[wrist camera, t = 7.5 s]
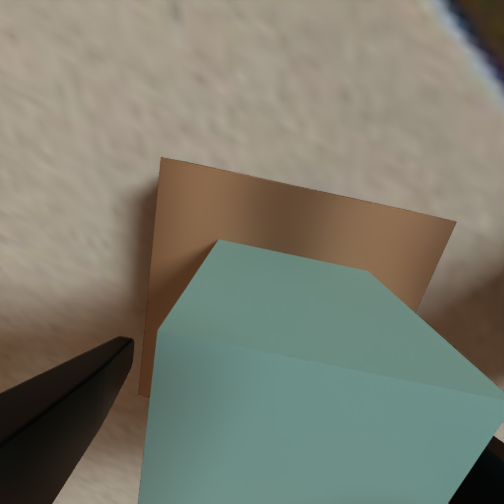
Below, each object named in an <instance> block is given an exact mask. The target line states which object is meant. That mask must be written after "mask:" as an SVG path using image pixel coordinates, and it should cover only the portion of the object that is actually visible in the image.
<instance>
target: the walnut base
mask: <svg viewBox="0 0 504 504" xmlns="http://www.w3.org/2000/svg"><path fill="white" fill-rule="evenodd" d="M455 225H456V221H452V220H447V219H443V218H439V217H435V216H430V215H426V214H422V213H418V212H413V211H409V210H404V209H400V208H395V207H391V206H386V205H381V204H377V203H372V202H368V201H363V200H358V199H354V198H349V197H345V196H340V195H336V194H331V193H326V192H322V191H317V190H313V189H308V188H304V187H299V186H294V185H290V184H285V183H281V182H276V181H271V180H267V179H262V178H258V177H253V176H249V175H244V174H239V173H235V172H230V171H226V170H221V169H216V168H212V167H207V166H203V165H198V164H194V163H189V162H184V161H179V160H173V159H168V158H163V157H161V161H160V172H159V182H158V193H157V203H156V214H155V225H154V235H153V246H152V256H151V267H150V278H149V288H148V299H147V309H146V320H145V330H144V341H143V352H142V362H141V373H140V383H139V394H138V395H141V396H146V397H150V393H151V384H152V375H153V367H154V358H155V349H156V340H157V332H158V329H159V328H160V326H161V325H162V323H163V322H164V320H165V319H166V317H167V316H168V314H169V313H170V311H171V310H172V308H173V307H174V305H175V304H176V302H177V301H178V299H179V298H180V296H181V295H182V293H183V292H184V290H185V289H186V287H187V286H188V284H189V283H190V281H191V280H192V278H193V277H194V275H195V274H196V272H197V271H198V269H199V268H200V266H201V265H202V263H203V262H204V260H205V259H206V257H207V256H208V255H209V253H210V252H211V250H212V249H213V247H214V246H215V244H216V243H217V241H218V240H219V239H220V240H224V241H229V242H234V243H239V244H243V245H248V246H253V247H257V248H262V249H267V250H271V251H276V252H281V253H286V254H290V255H295V256H300V257H304V258H309V259H314V260H318V261H323V262H328V263H333V264H337V265H342V266H347V267H351V268H356V269H361V270H365V271H369V272H370V273H371V274H372V275H373V276H374V277H375V278H376V279H378V280H379V281H380V282H381V283H382V284H383V285H384V286H385V287H387V288H388V289H389V290H390V291H391V292H392V293H393V294H394V295H396V296H397V297H398V298H399V299H400V300H401V301H402V302H403V303H405V304H406V305H407V306H408V307H409V308H410V309H411V310H412V311H414V312H416V310H417V308H418V306H419V304H420V302H421V299H422V297H423V295H424V293H425V291H426V288H427V286H428V284H429V282H430V280H431V277H432V275H433V273H434V271H435V269H436V266H437V264H438V262H439V260H440V258H441V255H442V253H443V251H444V249H445V247H446V244H447V242H448V240H449V238H450V236H451V233H452V231H453V229H454V227H455Z"/></svg>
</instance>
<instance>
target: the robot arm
mask: <svg viewBox="0 0 504 504" xmlns="http://www.w3.org/2000/svg"><path fill="white" fill-rule="evenodd" d="M133 352H134V340H133V339H132V338H128V337H123V336H119V337H116V338H114V339H112V340H110V341H108V342H106V343H104V344H102V345H100V346H98V347H96V348H93V349H91V350H89V351H87V352H85V353H83V354H81V355H79V356H77V357H75V358H73V359H71V360H69V361H66V362H64V363H62V364H60V365H58V366H56V367H54V368H52V369H50V370H48V371H46V372H44V373H42V374H39V375H37V376H35V377H33V378H31V379H29V380H27V381H25V382H23V383H21V384H19V385H17V386H15V387H12V388H10V389H8V390H6V391H4V392H2V393H0V504H52V503H53V502H54V500H55V498H56V497H57V495H58V494H59V492H60V491H61V489H62V487H63V486H64V484H65V483H66V481H67V479H68V478H69V476H70V475H71V473H72V472H73V470H74V468H75V467H76V465H77V464H78V462H79V461H80V459H81V457H82V456H83V454H84V453H85V451H86V449H87V448H88V446H89V445H90V443H91V442H92V440H93V438H94V437H95V435H96V434H97V432H98V430H99V429H100V427H101V425H102V424H103V422H104V420H105V418H106V416H107V414H108V412H109V410H110V408H111V406H112V404H113V403H114V401H115V399H116V397H117V395H118V393H119V391H120V389H121V387H122V385H123V383H124V381H125V379H126V377H127V375H128V373H129V371H130V369H131V366H132V363H133ZM448 504H504V443H503V442H502V441H500V440H499V439H497V438H496V437H495V436H493V437H492V438H491V440H490V441H489V443H488V444H487V446H486V447H485V449H484V450H483V452H482V453H481V455H480V456H479V458H478V459H477V461H476V462H475V464H474V465H473V467H472V468H471V470H470V471H469V472H468V474H467V475H466V477H465V478H464V480H463V481H462V483H461V484H460V486H459V487H458V489H457V490H456V492H455V493H454V495H453V496H452V498H451V499H450V501H449V502H448Z"/></svg>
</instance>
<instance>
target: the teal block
mask: <svg viewBox="0 0 504 504" xmlns="http://www.w3.org/2000/svg"><path fill="white" fill-rule="evenodd" d="M503 421H504V392H503V391H502V390H501V389H500V388H499V387H498V386H497V385H495V384H494V383H493V382H492V381H491V380H490V379H489V378H488V377H486V376H485V375H484V374H483V373H482V372H481V371H480V370H479V369H477V368H476V367H475V366H474V365H473V364H472V363H471V362H470V361H468V360H467V359H466V358H465V357H464V356H463V355H462V354H461V353H460V352H458V351H457V350H456V349H455V348H454V347H453V346H452V345H451V344H449V343H448V342H447V341H446V340H445V339H444V338H443V337H442V336H440V335H439V334H438V333H437V332H436V331H435V330H434V329H433V328H431V327H430V326H429V325H428V324H427V323H426V322H425V321H424V320H422V319H421V318H420V317H419V316H418V315H417V314H416V313H415V312H414V311H412V310H411V309H410V308H409V307H408V306H407V305H406V304H405V303H403V302H402V301H401V300H400V299H399V298H398V297H397V296H396V295H394V294H393V293H392V292H391V291H390V290H389V289H388V288H387V287H385V286H384V285H383V284H382V283H381V282H380V281H379V280H378V279H376V278H375V277H374V276H373V275H372V274H371V273H370V272H369V271H365V270H361V269H356V268H351V267H347V266H342V265H337V264H333V263H328V262H323V261H318V260H314V259H309V258H304V257H300V256H295V255H290V254H286V253H281V252H276V251H271V250H267V249H262V248H257V247H253V246H248V245H243V244H239V243H234V242H229V241H224V240H220V239H219V240H218V241H217V243H216V244H215V246H214V247H213V249H212V250H211V252H210V253H209V255H208V256H207V257H206V259H205V260H204V262H203V263H202V265H201V266H200V268H199V269H198V271H197V272H196V274H195V275H194V277H193V278H192V280H191V281H190V283H189V284H188V286H187V287H186V289H185V290H184V292H183V293H182V295H181V296H180V298H179V299H178V301H177V302H176V304H175V305H174V307H173V308H172V310H171V311H170V313H169V314H168V316H167V317H166V319H165V320H164V322H163V323H162V325H161V326H160V328H159V329H158V332H157V340H156V349H155V358H154V367H153V375H152V384H151V393H150V401H149V410H148V419H147V427H146V436H145V445H144V454H143V462H142V471H141V480H140V488H139V497H138V504H448V502H449V501H450V499H451V498H452V496H453V495H454V493H455V492H456V490H457V489H458V487H459V486H460V484H461V483H462V481H463V480H464V478H465V477H466V475H467V474H468V472H469V471H470V470H471V468H472V467H473V465H474V464H475V462H476V461H477V459H478V458H479V456H480V455H481V453H482V452H483V450H484V449H485V447H486V446H487V444H488V443H489V441H490V440H491V438H492V437H493V435H494V434H495V432H496V431H497V429H498V428H499V426H500V425H501V423H502V422H503Z"/></svg>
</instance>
